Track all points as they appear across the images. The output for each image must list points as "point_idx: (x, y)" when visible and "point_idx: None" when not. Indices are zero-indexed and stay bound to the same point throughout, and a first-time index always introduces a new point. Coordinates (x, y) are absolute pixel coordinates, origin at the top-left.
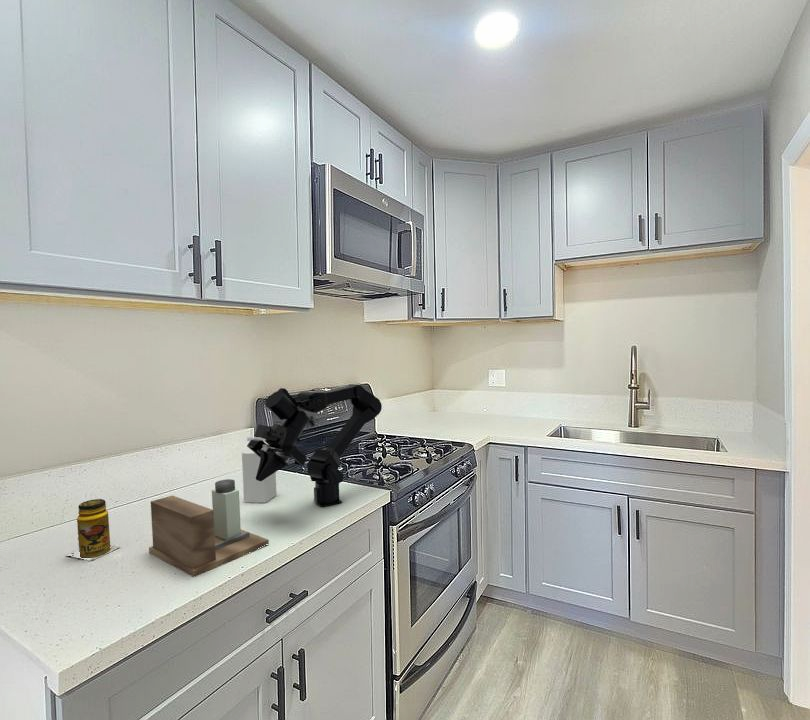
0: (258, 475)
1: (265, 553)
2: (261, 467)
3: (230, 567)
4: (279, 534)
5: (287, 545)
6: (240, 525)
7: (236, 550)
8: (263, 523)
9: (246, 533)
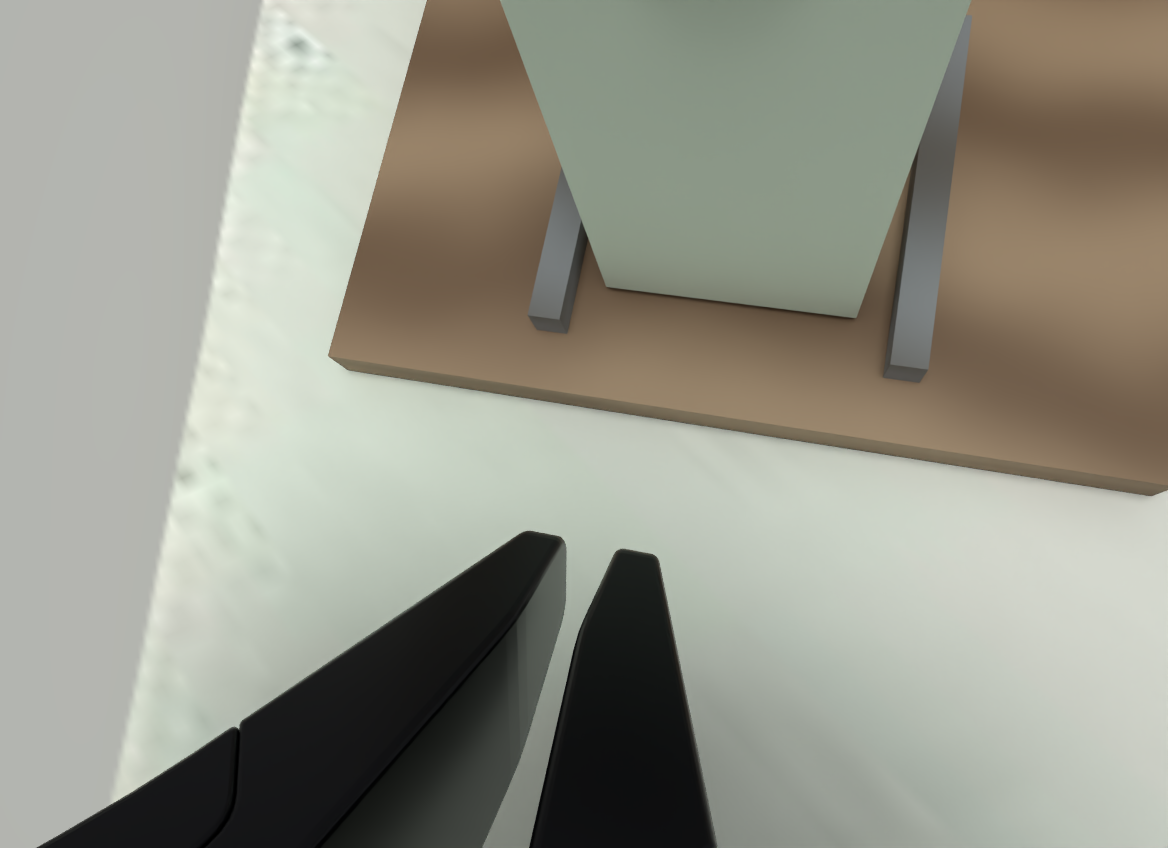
0: (591, 613)
1: (277, 249)
2: (546, 798)
3: (370, 5)
4: (397, 580)
5: (198, 426)
6: (590, 241)
7: (440, 101)
8: (761, 756)
9: (538, 288)
